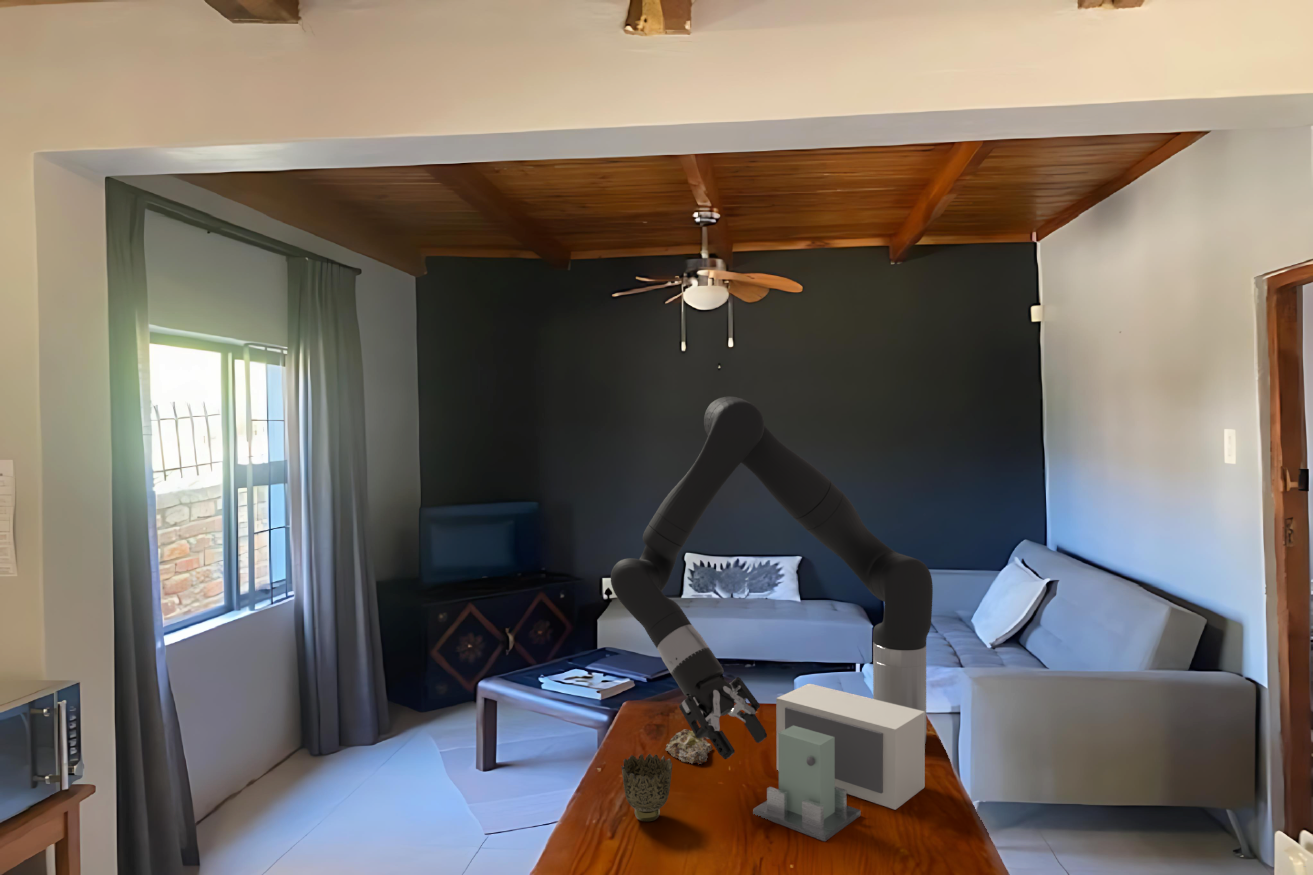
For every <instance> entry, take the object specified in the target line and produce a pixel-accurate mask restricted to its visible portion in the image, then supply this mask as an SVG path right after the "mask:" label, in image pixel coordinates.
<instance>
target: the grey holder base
mask: <svg viewBox="0 0 1313 875" xmlns="http://www.w3.org/2000/svg"><path fill="white" fill-rule="evenodd" d="M847 795H848V794H847V790H845V789H842V788H839V787H836V786H835V812H834V813H833V814H831V815H830V816H828V817H827V818H825V819H824V805H821V804H818V803H815V802H813V801H810V800H807V799H804V800H803V801H802V815H800V814H797V813H794V812H791V811H789V810H787V792H784V791H781V790H779V788H775V787H773V786H769V787H767V788H766V799H767V800H765V801H763V802H762V803H760V804H759V805H757V806H755V807H754V808H753V809H752V810H753V811H752V814H753V815H754V814H755V815H754V816H757V815H758V816H757V817H759V816H761V817H760V818H761V819H764V818H765V819H764V820H767V819H768V821H771V822H772V823H775V824H778V825H780V826H783V827H785V828H788V829H791V830H793V831H796V832H799V833H801V834H803V835H806V836H809V837H811V838H814V839H817V840H819V841H822V842H827V840H829V839H830V838H832V837H833V836H835V835H836V834H838V833H839V832H840V831H842V830H843V829H844V828H846V827H847V826H848V825H850V824H851V823H852V822H854V821H855V820H856V819H858V818H859V817H861V809H858V808H855V807H853V806H849V805H847Z"/></svg>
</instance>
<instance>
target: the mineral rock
mask: <svg viewBox="0 0 1313 875" xmlns="http://www.w3.org/2000/svg"><path fill="white" fill-rule="evenodd" d="M665 747H666V748H665V750H664V751H665V752H666V751H668V753H669V754H670V756H671V757H673V758H675V759H677V758H678V759H679V761H680V760H681V763H688V762H689V763H688V764H690V763H691V765H694V764H693V763H699V764H701V765H702V764H703V763H706V762H707V761H708V760H707V758H708V759H709V756H708V753H710V752H709V751H711V752H712V750H713V745H712V743H709V742H708V741H707V738H706V737H702V738H700V739H698V738H697V737H696V736H695V734H694V733H693V731H692V730H690V729H682V730H681V731H679V732H676V733H675V735H673V736H672V738H670V740H669V743H667V744H666V746H665ZM678 759H677V760H678ZM705 761H706V762H705ZM699 764H698V765H699Z"/></svg>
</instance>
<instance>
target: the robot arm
mask: <svg viewBox="0 0 1313 875" xmlns="http://www.w3.org/2000/svg"><path fill="white" fill-rule="evenodd" d="M703 425H704V431H705V433H706V435H707V437H706V440H705V443H704V444H703V446H702V449H701V451H700V453H699V455H698V457H697V458H696V459H695V462H694V463H693V464H692V465H691V467H690V469H688V471H687V473H686V474H685V475H684V476H683V477H682V478H681V480H679V482H678V483H677V484H676V485H675V486H674V487H673V488H672V489H671V491H670V492H669V493H668V494H667V495H666V497H665V498H664V499H663V501H662V502H661V503H660V505H659V507H658V508H657V510H656V512H655V513H654V515H653V517H652V518H651V519H650V521H649V522H648V525H647V526H646V528H645V529H644V531H643V534H642V541H643V543H644V545H645V546H644V548H643V552H642V553H641V556H640V557H639V559H638V558H632V557H631V558H630V557H629V558H624V559H623V558H622V559H621V560H619V561H618V562H616V564H615V565H614V566H612V567H613V568H612V570H611V573H610V583H611V588H612V589H613V590H612V591H613V593H614V594H615V596H616V598H617V599H618V600H619V602H620V603H621V604H622V605H623V607H624V608H625V609H626V610H627V612H628V613H629V614H631V615H632V617H633V618H634V619H635V620H636V621H638V623H640V625H641V626H642V627H643V628H644V631H645V633H646V634H647V635H648V637H649V638H650V640H651V642H652V644H654V646H655V648H656V649H657V651H658V653H659V656H660V658H661V660H662V662H663V663H664V665H665V667H666V668H667V669H668V671H669V673H670V674H671V676H672V678H673V679H674V680H675V682H676V684H677V685H678V687H679V688H680V691H681V692H682V693H683V695H684V696H685V697H686V698H685V699H684V700H683V701H682V702H681V703H680V704H679V707H678V708H679V710H680V712H681V713H682V715H683V716H684V718H685V720H686V722H687V723H688V726H689V727H690V729H691V731H693V733H694V734H695V736H696V737H697V738H698V739H700V738H702V737H705V738H706V740H710V742H711V744H712V746H714V748H715V750H716V752H718V754H719V756H721V758H722V759H724V760H727V759H729V758H731V757H733V755H734V754H735V748H734V747H733V745H732V743H731V741H730V740H729V739H728V738H727V736H726V734H725V733H724V731H723V729H722V730H720V729H721V728H720V717H721V716H726V715H729V716H730V717H736V718H737V719H739V720H741V721H742V722H744V724H743V725H744V726H745V727H746V729H747V730H748V732H749V733H750V734H749V735H751V737H752V739H754V742H755V743H757V744H761V742H763V741H764V740H765V739H766V738H767V736H768V734H767V732H766V729H765V727H764V726H763V725H762V722H760V719H759V718H758V717H757V715H756V713H757V711H758V710H759V709H760V707H761V704H760V703H759V702H758V700H757V699H756V698H755V696H754V695H753V694H752V692H751V691H750V689H749V688H748V687H747V685H746V684H745V682H744V681H743V680H742V678H741V677H739V676H737V677H736V678H735V679H733V680H732V681H731V682H729V681H727V680H726V679H725V678H724V668H723V666H722V664H721V663H720V662H719V660H718V659H717V657H716V656H715V654H714V652H713V651H712V649H711V648H710V647H709V645H708V644H707V642H706V641H705V640H704V638H703V637H702V635H701V633H700V632H698V630H697V629H696V628H695V627H694V625H693V624H692V623H691V621H690V619H689V618H688V617H687V615H686V613H685V612H684V611H683V609H682V608H681V607H680V605H679V604H678V603H677V602H676V601H675V600H672V598H669V597H668V596H667V595H666V594H664V593H663V591H664V589H665V588H666V586H667V584H668V583H669V579H670V577H671V574H672V572H673V569H674V568H675V564H676V562H677V557H678V555H679V552H680V551H681V550H682V548H683V546H684V545H685V544H686V543H687V540H688V538H690V535H691V534H692V532H693V531H694V529H695V527H696V525H697V524H698V522H699V521H700V519H701V517H702V516H703V515H704V513H705V512H706V510H707V508H708V507H709V505H710V504H711V502H713V500H714V497H715V496H716V495H717V493H718V492H719V490H720V489H721V488H722V487H723V485H724V484H725V483H726V482H727V480H728V479H729V477H730V476H731V475H732V474H733V473H734V472H735V470H736V469H737V468H738V466H740V464H742V465H743V466H745V467H746V468H747V469H748V470H749V471H751V473H752V474H754V476H755V477H756V478H757V479H758V480H759V481H760V482H761V483H762V485H763V486H764V487H765V489H767V491H768V492H769V493H770V495H771V496H772V497H773V498H774V499H775V500H776V501H777V502H778V503H779V504H780V506H781V507H783V508H784V510H785V511H787V513H788V514H789V515H790V516H791V518H793V519H794V520H795V521H796V522H797V523H799V525H800V526H802V527H803V528H804V529H805V530H806V531H807V532H808V533H809V534H811V535H812V536H813V537H814V538H815V539H816V540H817V541H819V542H820V543H821V544H822V545H823V546H825V547H826V548H827V549H829V550H830V551H832V553H834V554H835V555H837V556H838V557H839V558H840V559H841V560H843V562H844V563H845V564H846V566H848V568H849V569H851V571H852V572H853V573H854V574H855V575H856V577H857V578H858V579H859V580H860V582H862V583H863V584H864V586H865V587H866V588H867V589H868V591H869V592H870V593H871V594H872V595H873V596H875V598H877V599H878V600H880V601H881V602H884V607H883V619H882V622H879V623H877V624H876V625H875V626H874V627H873V631H872V632H873V633H872V641H873V642H872V648H873V652H872V655H873V656H872V659H873V660H872V661H873V662H872V663H873V664H872V668H873V672H872V678H873V679H872V680H873V681H872V683H873V684H872V687H873V688H872V689H873V690H872V694H873V695H872V699H875V700H879V701H884V702H888V703H892V704H896V705H900V706H904V707H908V708H912V709H916V710H921V711H925V743H926V742H927V639H928V635H929V633H930V630H931V626H932V617H933V616H932V615H933V594H934V593H933V592H934V591H933V590H934V589H933V586H934V585H933V578H932V575H931V572H930V570H929V568H928V567H927V564H925V563H924V562H923V561H921V560H920V559H917V558H916V557H915V558H914V557H911V556H908V555H905V554H902V553H899V552H896V551H895V550H893V549H892V548H891V547H889V546H888V545H887V544H885V543H884V542H883V541H881V540H880V539H879V538H878V537H876V536H875V534H873V533H872V532H871V531H870V530H869V529H868V528H867V526H866V525H865V524H864V523H863V521H862V519H861V517H860V515H859V512H858V511H857V509H856V508H855V507H854V505H853V503H852V501H850V499H849V498H848V497H847V496H846V494H845V493H844V492H843V491H842V490H841V489H839V488H838V486H837V485H836V484H834V483H833V481H832V480H830V479H829V478H828V477H827V476H826V475H825V474H823V473H822V472H821V471H820V470H819V469H818V468H816V467H815V466H814V465H813V464H811V463H810V462H808V461H807V460H806V459H804V458H803V457H801V456H800V455H798V454H797V453H795V451H792V450H791V449H790V448H789V447H787V446H786V445H784V443H783V442H781V441H780V440H779V439H778V438H777V437H776V436H775V435H774V434H773V433H772V432H771V430H770V429H768V427H767V426H766V425H765V420H764V417H763V414H762V413H761V410H760V409H758V407H757V406H756V405H755V404H753V403H751V402H749V401H747V400H745V399H744V398H741V397H736V396H724V397H723V396H722V397H719V398H717V399H715V400H714V401H713V400H712V402H711V403H710V404H709V405H708V407H707V409H706V410H705V413H704V417H703ZM746 700H747V701H748V702H749V704H750V705H749V704H748V702H747V701H746ZM743 711H744V712H743ZM697 722H698V723H697Z"/></svg>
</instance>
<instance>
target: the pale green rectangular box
mask: <svg viewBox="0 0 1313 875" xmlns="http://www.w3.org/2000/svg"><path fill="white" fill-rule="evenodd" d="M778 790H781V791H784V792H787V810H789V811H791V812H794V813H797V814H800V815H802V801H803V800H804V799H807V800H810V801H813V802H815V803H818V804H821V805H824V819H825V818H827V817H828V816H830V815H831V814H833V813H834V812H835V737H832V736H829V735H825V734H822V733H818V732H815V731H811V730H808V729H804V728H801V727H797V726H794V725H793V726H791V727H789V728H787V729H785V730H783V731H781V732H779V771H778Z"/></svg>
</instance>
